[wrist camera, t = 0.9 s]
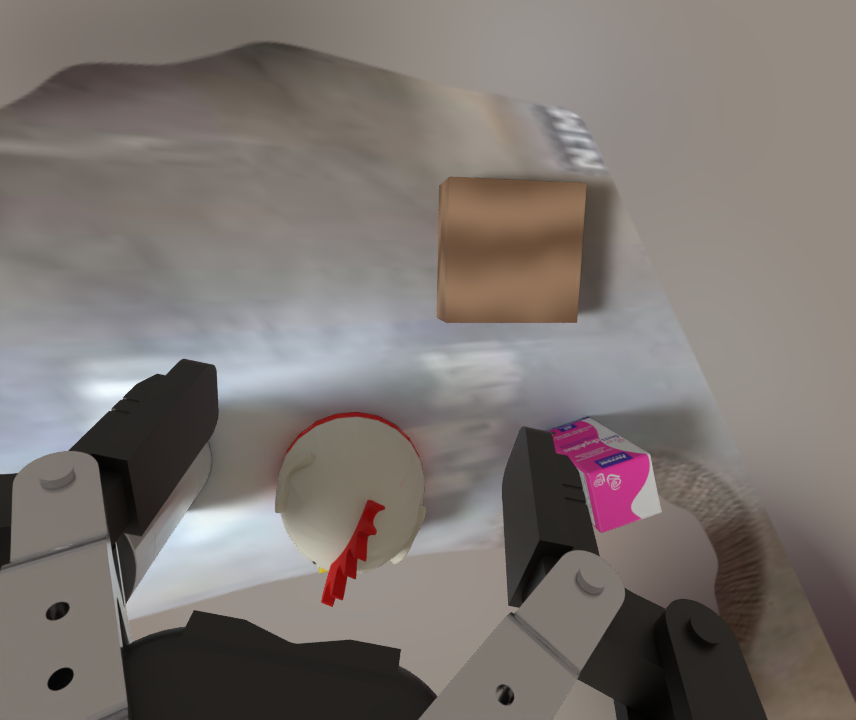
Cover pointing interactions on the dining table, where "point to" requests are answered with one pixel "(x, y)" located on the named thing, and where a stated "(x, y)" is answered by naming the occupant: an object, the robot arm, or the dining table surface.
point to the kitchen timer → (351, 496)
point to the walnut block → (509, 250)
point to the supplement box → (609, 473)
